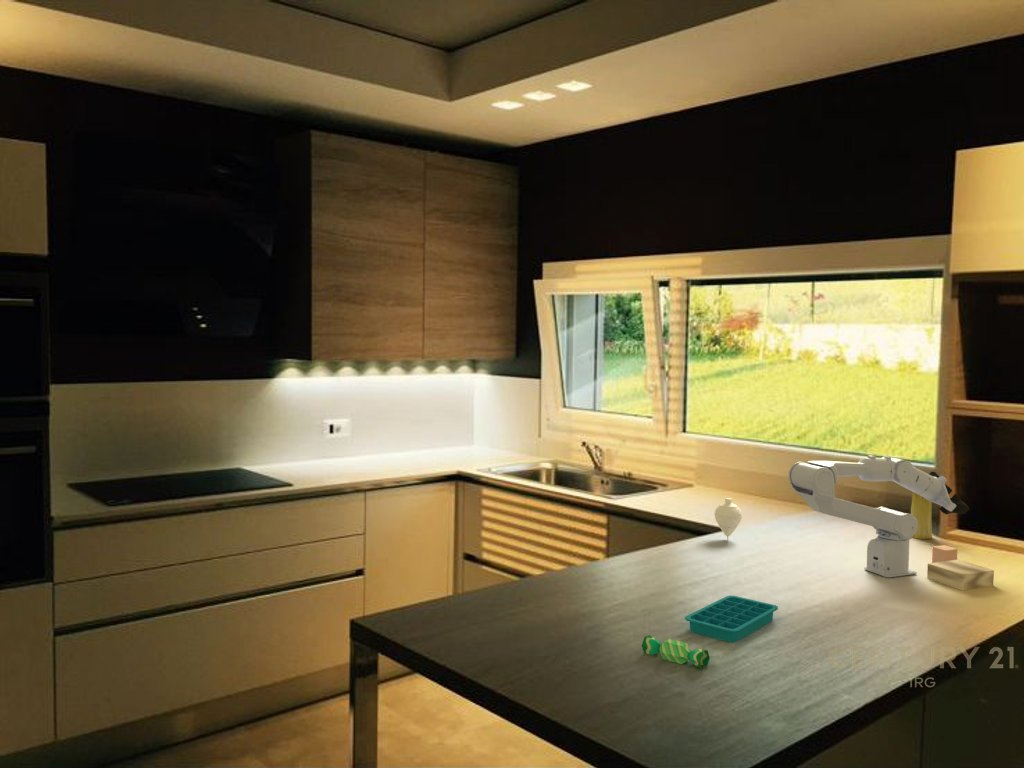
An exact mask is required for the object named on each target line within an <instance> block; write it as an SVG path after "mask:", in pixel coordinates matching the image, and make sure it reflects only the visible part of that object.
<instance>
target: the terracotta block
mask: <svg viewBox="0 0 1024 768" xmlns="http://www.w3.org/2000/svg"><path fill="white" fill-rule="evenodd" d="M931 559H932V560H931V563H936V562H944V561H951V560H958V548H956V547H952V546H948V545H945V544H943V545H934V546H932V556H931Z"/></svg>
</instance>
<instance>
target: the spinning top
mask: <svg viewBox="0 0 1024 768" xmlns="http://www.w3.org/2000/svg"><path fill="white" fill-rule="evenodd" d="M724 501H725V502H723V503H721V504H719V505H718V506H717V507H716V509H715V510H714V519H715V521H716V523H717V525H718V527H719V528H720V530H721V531H722V533H723V534H724V535H725V537H726V540H729V537H730V536H731V535H732V534H733V533H734V532H735V530H736V529H737V528H738V527H739V525H740V523H741V521H742V517H743V513H742V510H741V508H740V507H739V506H738V505H737V504H735V503H733V498H732V497H726V498H724Z"/></svg>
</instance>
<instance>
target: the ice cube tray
mask: <svg viewBox="0 0 1024 768" xmlns="http://www.w3.org/2000/svg"><path fill="white" fill-rule="evenodd" d="M778 610H779V608H778V605H775V604H771V603H767V602H763V601H760V600H759V601H758V600H754V599H750V598H747V597H741V596H737V595H726V596H724V597H723V598H720V599H719V600H717V601H714V602H712V603H710V604H708V605H706V606H704V607H702V608H700V609H697V610H696V611H693V612H691V613H690V614H688V615H686V616H684V620H685V621H686V622H689V631H690V632H692V633H694V634H699V635H702V636H706V637H710V638H714V639H717V640H720V641H724V642H725V641H726V642H728V643H735V642H738V641H739V640H741V639H743V638H745V637H746V636H749V635H750V634H752V633H753V632H755V631H757V630H759V629H761V628H762V627H764V626H765V625H767V624H769V623H770V622H772V621H773V620H774V612H776V611H778Z"/></svg>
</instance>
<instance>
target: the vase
mask: <svg viewBox="0 0 1024 768" xmlns="http://www.w3.org/2000/svg"><path fill="white" fill-rule="evenodd" d="M911 492H912V491H911ZM932 504H933V502H931V501H929V500H927V499H925V498H924V497H922V496H920V495H918V494H916V493H914V492H912V493H911V506H910V514H912V515H913V516H915V518H916V520H917V524H918V526H917V531H916V533H915V534H914V536H912V539H913V538H914V539H919V540H930V539H931V540H932V538H933V534H932V531H933V530H932V526H933V524H932V517H933V516H932V515H933V514H932V510H933V509H932V508H933V505H932Z"/></svg>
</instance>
